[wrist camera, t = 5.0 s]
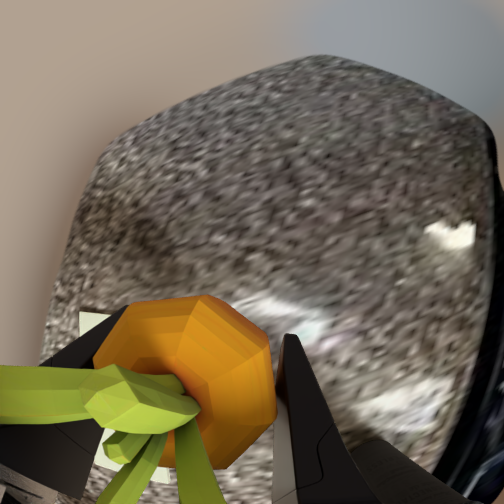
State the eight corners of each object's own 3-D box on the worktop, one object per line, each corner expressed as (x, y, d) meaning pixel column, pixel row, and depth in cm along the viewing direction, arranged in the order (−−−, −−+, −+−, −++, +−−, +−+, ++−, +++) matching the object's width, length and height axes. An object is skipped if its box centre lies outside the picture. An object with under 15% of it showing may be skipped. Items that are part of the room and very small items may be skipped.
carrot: (289, 358, 16) (378, 560, 1) (216, 396, 16) (80, 588, 1) (247, 285, 17) (126, 150, 2) (175, 325, 17) (-71, 346, 2)
